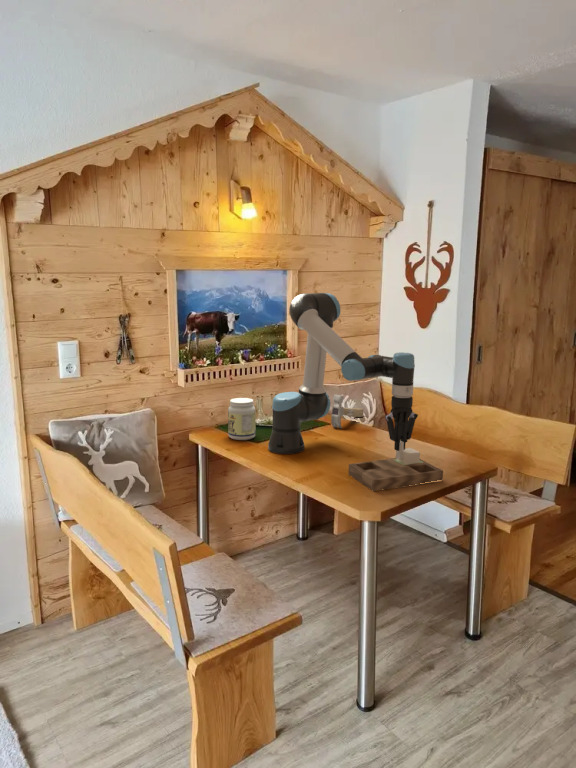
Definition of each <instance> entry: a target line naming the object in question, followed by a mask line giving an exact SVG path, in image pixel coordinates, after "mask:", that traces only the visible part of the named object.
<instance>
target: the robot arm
mask: <svg viewBox="0 0 576 768" xmlns="http://www.w3.org/2000/svg"><path fill="white" fill-rule="evenodd" d="M288 310H289V316H290V319H291V320H292V322H293V323H294V324H295V326H296V327H297V328H299V330H302V331H305V332H306V334H307V337H306V348H305V360H304V369H303V380H302V385H301V386H299V387H298V392H297V391H288V392H287V391H286V392H280V393H278V394H275V396H273V399H272V405H271V407H272V431H271V435H270V437H269V440H268V444H267V445H268V447H267V449H268V451H269V452H272V453H274V454H279V455H292V454H293V455H294V454H299V453H302V452H303V451H305V442H304V438H303V435H302V433H301V423H303V422H308V421H314V420H319V419H321V418H324V417H325V416H326V415H327V414H328V413H329V411H330V409H331V399H330V396H329V395H328V393H327V389H326V388H325V386H324V380H325V373H326V371H325V369H326V361H327V354H328V355H329V356H330V357H331V358H332V359H333V360H334V361H335V362H336V363H337V364H338V365H339V366H340V367H341V368H340V369H341V371H340V372H341V374H342V377H343V378H344V379H345V380H347V381H351V382H352V381H361V380H366V379H372V378H379V377H385V378H391V380H392V381H391V383H392V384H391V395H392V396H391V404H390V405H391V409H390V413H389V414H385V415H384V419H385V420H386V423H387V424H386V425H387V429H388V430H387V431H388V436H389V439H390V440H391V441H393V442H394V445H393V446H394V447H393V449H394V451H395V458H397V459H399V460H402V459H403V450H405V448H406V443H407V442H408V441H409V440H411V439H412V435H413V430H414V426H415V423H416V420H417V418H418V416H419V415H418V414H417V413H415V412H414V411H413V408H412V407H413V404H414V403H413V401H414V400H413V399H414V398H413V395H414V378H415V376H414V375H415V365H416V364H415V354H413V353H411V352H395V353H393V356H392V357H391V356H386V355H381V354H370V355H369V356H368V357H362V356H361V355H360V354H358V353H357V352H356V351H355V350H354V348H353V347H351V346H350V345H349V344H348V343H347V342H346V341H345V340H344V339H343V338H342V337H341V336H340V335H339V334H338V333H337V332H336V331H335V330H334V329H333V328H334V322H335V321H337V320H338V319H339V318H340V315H341V305H340V302H339V300H338V298H337V297H336V296H335V295H334V294H332V293H329V292H312V293H311V292H310V293H308V292H307V293H306V292H305V293H300V294H298V295H296V296H295V297H294V298H293V299H292V300H291V302H290V305H289V309H288Z"/></svg>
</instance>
